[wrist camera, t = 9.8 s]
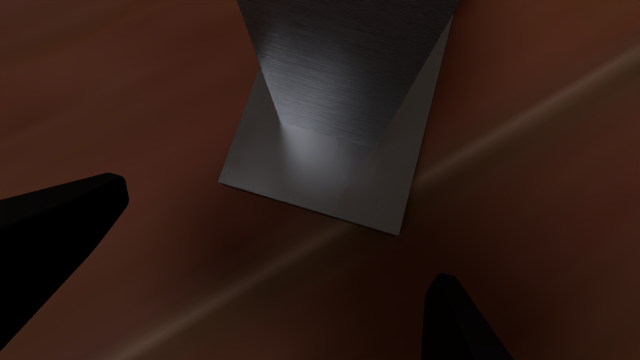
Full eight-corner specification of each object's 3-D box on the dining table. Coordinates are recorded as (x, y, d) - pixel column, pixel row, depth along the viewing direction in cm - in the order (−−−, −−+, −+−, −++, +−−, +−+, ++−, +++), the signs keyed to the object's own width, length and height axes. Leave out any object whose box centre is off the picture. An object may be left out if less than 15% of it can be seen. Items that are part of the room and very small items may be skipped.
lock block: (375, 151, 17) (516, -93, 5) (279, 124, 18) (169, -172, 5) (400, 58, 18) (574, -347, 6) (310, 34, 19) (282, -397, 6)
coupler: (393, 236, 17) (421, 234, 13) (224, 185, 18) (188, 165, 13) (463, -43, 21) (506, -130, 16) (318, -77, 22) (317, -171, 17)
